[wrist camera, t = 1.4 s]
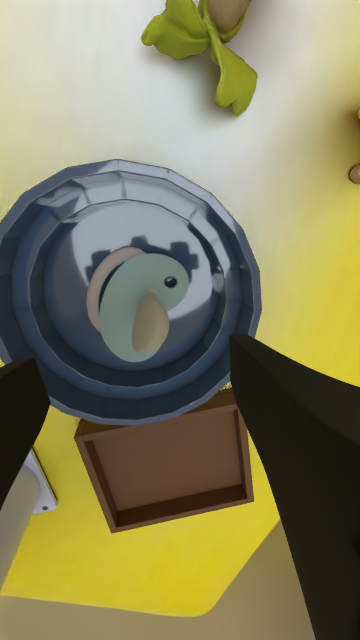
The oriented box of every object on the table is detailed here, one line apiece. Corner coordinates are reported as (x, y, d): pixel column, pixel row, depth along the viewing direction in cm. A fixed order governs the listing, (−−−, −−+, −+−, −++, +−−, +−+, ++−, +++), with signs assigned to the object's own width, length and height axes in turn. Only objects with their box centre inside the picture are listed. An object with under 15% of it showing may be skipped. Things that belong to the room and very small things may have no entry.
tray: (114, 511, 26) (111, 533, 24) (80, 419, 22) (73, 437, 20) (246, 482, 27) (254, 501, 25) (236, 387, 23) (244, 402, 21)
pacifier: (75, 325, 19) (153, 354, 21) (38, 368, 13) (150, 406, 15) (112, 226, 17) (195, 266, 19) (88, 227, 12) (212, 284, 13)
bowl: (61, 402, 22) (40, 446, 17) (-18, 198, 16) (-76, 191, 12) (245, 365, 22) (267, 399, 18) (226, 157, 17) (251, 136, 13)
